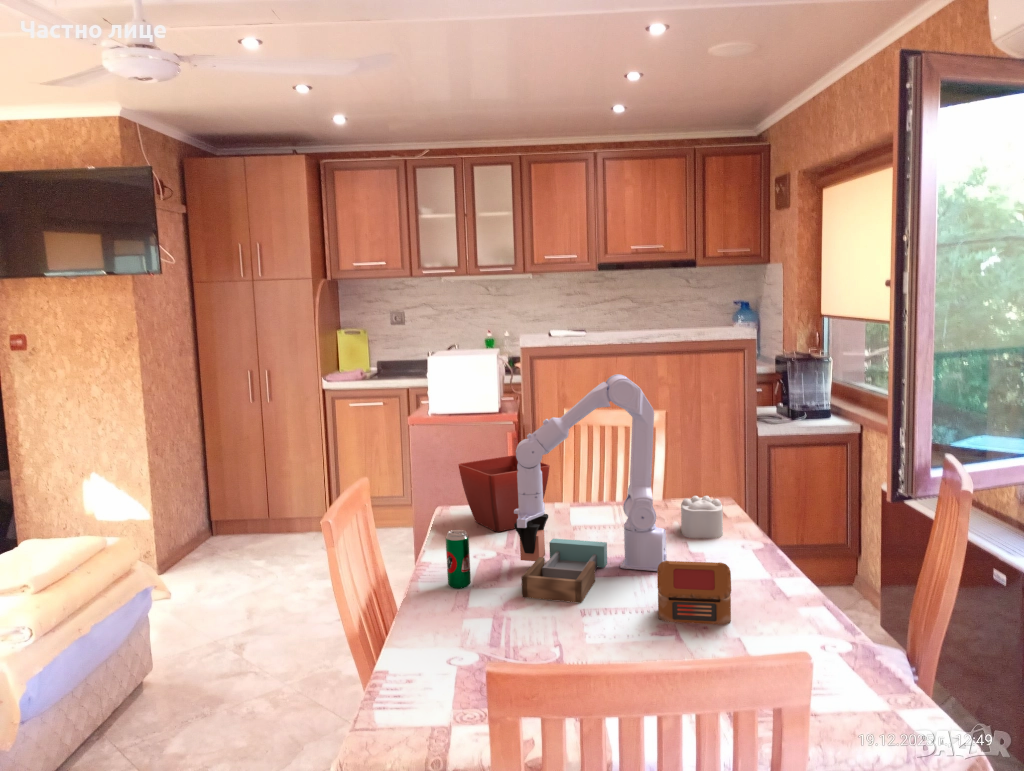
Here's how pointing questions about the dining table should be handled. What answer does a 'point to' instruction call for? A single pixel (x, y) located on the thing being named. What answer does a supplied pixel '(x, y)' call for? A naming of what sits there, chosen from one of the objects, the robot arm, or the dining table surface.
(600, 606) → the dining table surface
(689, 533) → the lumpy-topped squat cylinder
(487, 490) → the plant pot
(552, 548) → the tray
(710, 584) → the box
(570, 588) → the caddy
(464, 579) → the soda can
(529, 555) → the brick-red block
